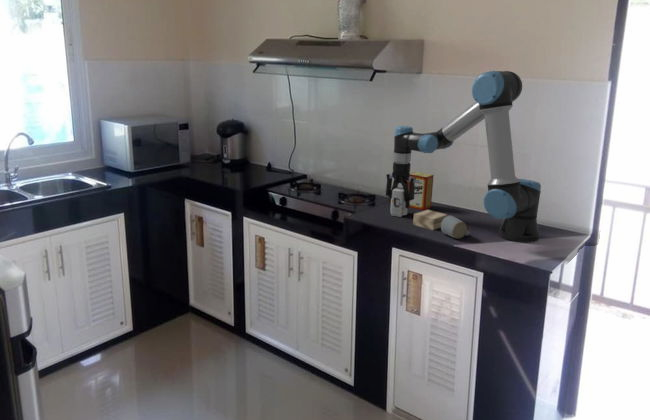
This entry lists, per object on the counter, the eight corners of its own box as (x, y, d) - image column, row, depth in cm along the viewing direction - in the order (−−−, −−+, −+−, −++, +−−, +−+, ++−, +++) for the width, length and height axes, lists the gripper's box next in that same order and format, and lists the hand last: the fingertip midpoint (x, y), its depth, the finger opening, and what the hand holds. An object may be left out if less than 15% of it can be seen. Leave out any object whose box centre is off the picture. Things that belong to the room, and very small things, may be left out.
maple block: (446, 226, 232) (447, 214, 231) (432, 230, 225) (433, 219, 224) (426, 220, 239) (427, 209, 238) (412, 225, 232) (413, 213, 231)
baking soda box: (431, 207, 259) (433, 174, 254) (424, 210, 254) (427, 176, 249) (413, 204, 264) (415, 171, 260) (406, 206, 259) (408, 173, 255)
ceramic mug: (452, 240, 213) (454, 221, 211) (439, 234, 220) (441, 216, 218) (473, 237, 218) (476, 219, 216) (460, 231, 225) (462, 213, 223)
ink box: (396, 211, 251) (397, 185, 248) (407, 212, 249) (408, 187, 246) (390, 215, 244) (391, 189, 240) (401, 217, 241) (402, 191, 238)
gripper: (425, 163, 237) (421, 215, 244) (387, 158, 248) (385, 207, 254) (416, 166, 232) (413, 219, 238) (378, 160, 242) (376, 211, 249)
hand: (398, 213), depth 246 cm, fingers closed on ink box, 6 cm apart
